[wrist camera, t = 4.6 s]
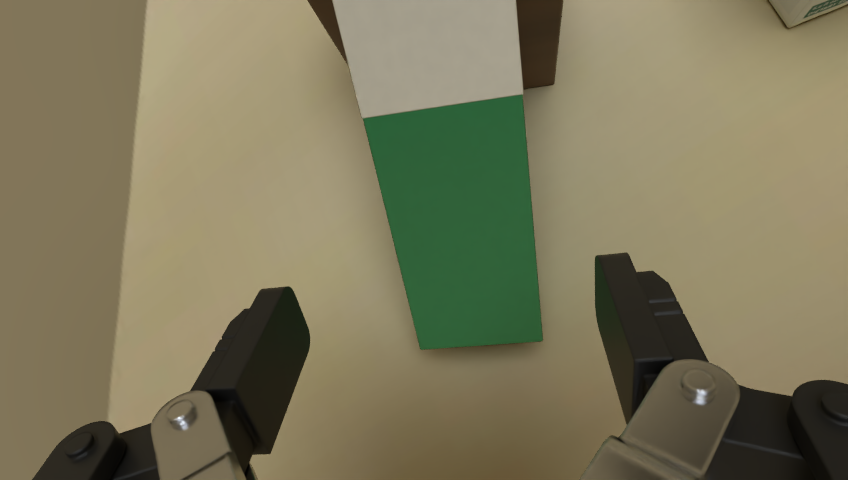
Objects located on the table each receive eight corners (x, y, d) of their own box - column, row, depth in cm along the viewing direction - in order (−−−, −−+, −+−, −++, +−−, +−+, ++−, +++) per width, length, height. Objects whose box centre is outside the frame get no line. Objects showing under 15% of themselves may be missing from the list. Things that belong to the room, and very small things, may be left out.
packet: (541, 342, 25) (557, 327, 13) (430, 350, 26) (339, 343, 14) (513, 95, 29) (503, -120, 16) (414, 110, 29) (328, -82, 17)
